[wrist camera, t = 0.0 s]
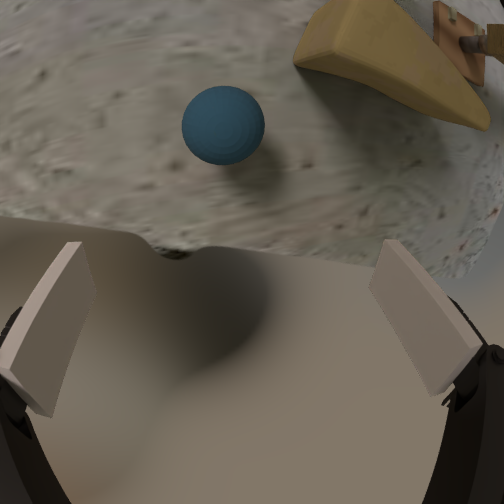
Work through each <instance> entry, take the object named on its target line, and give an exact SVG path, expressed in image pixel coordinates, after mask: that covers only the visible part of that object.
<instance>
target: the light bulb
mask: <svg viewBox="0 0 504 504" xmlns="http://www.w3.org/2000/svg"><path fill="white" fill-rule="evenodd" d="M264 128H265V122H264V116H263V113H262V110H261V108H260V106H259V104H258V103H257V101H256V100H255V99H254V98H253V97H252V96H251V95H250V94H248V93H247V92H245V91H243V90H241V89H239V88H236V87H231V86H217V87H212V88H209V89H207V90H205V91H203V92H201V93H199V94H198V95H197V96H196V97H195V98H194V99H192V101H191V102H190V103H189V105H188V106H187V108H186V110H185V112H184V116H183V120H182V133H183V138H184V140H185V143H186V145H187V146H188V148H189V149H190V151H191V152H192V153H193V154H194V155H195V156H197V157H198V158H200V159H201V160H203V161H205V162H208V163H211V164H215V165H229V164H234V163H237V162H240V161H242V160H244V159H245V158H247V157H248V156H250V155H251V154H252V153H253V152H254V151H255V150H256V148H257V147H258V146H259V144H260V142H261V140H262V137H263V134H264Z"/></svg>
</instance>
